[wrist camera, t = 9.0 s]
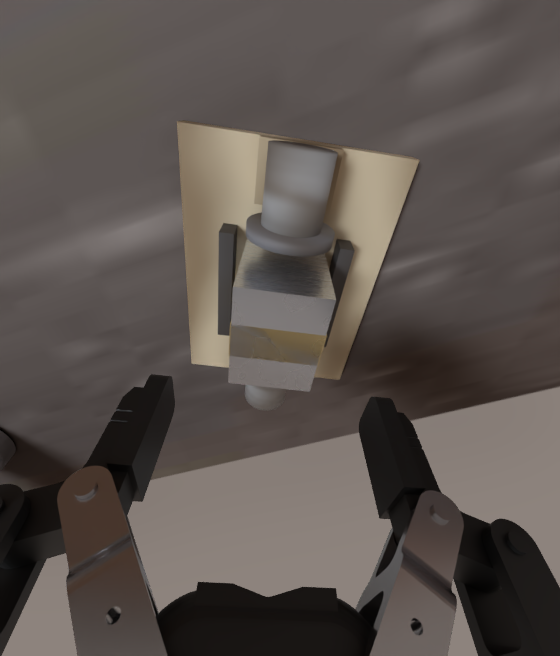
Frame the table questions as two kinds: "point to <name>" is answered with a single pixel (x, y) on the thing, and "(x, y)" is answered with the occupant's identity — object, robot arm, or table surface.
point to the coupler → (279, 318)
